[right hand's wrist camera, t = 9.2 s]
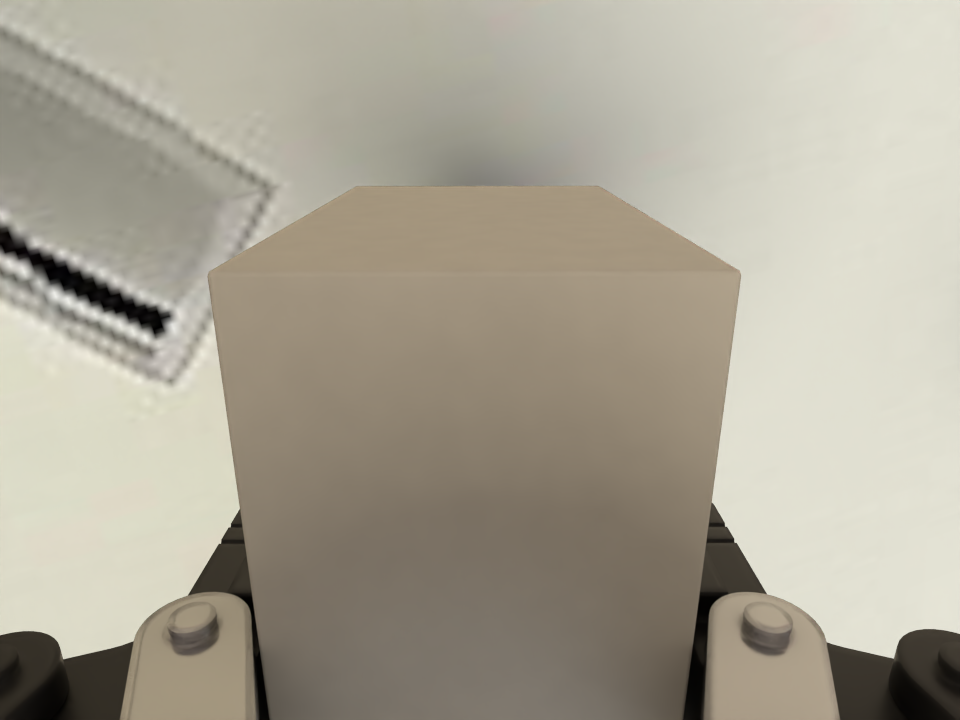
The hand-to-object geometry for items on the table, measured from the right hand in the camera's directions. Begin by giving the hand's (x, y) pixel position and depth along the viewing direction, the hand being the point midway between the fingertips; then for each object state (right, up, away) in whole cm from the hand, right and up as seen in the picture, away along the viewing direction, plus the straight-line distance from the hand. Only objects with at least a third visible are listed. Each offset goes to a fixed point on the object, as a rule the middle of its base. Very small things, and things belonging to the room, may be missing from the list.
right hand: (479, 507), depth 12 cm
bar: (0, -21, +11) cm, 24 cm away
